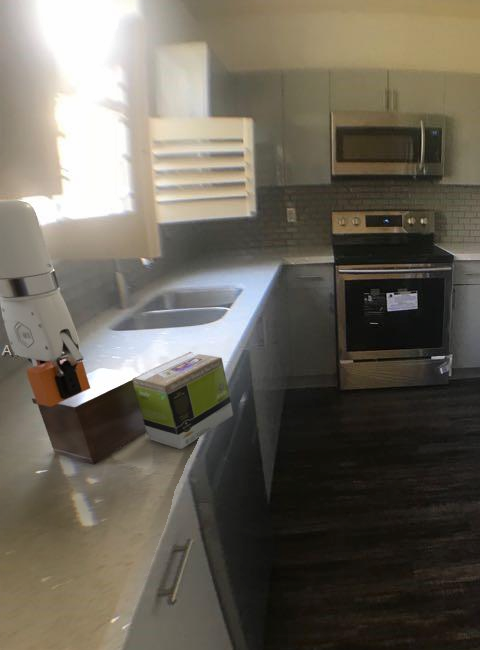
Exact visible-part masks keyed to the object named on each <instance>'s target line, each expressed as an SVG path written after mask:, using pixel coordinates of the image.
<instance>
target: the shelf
mask: <svg viewBox="0 0 480 650" xmlns="http://www.w3.org/2000/svg"><path fill="white" fill-rule="evenodd" d="M140 374H141V373H140ZM140 374H139V373H133V372H128V371H121V370H116V369H109V368H104V367H100V368H97V369H95V370H93V371H90V372H88V373H86V375H87V378H88V382H89V385H90V389H88V390H86V391H84V392H81V393H79V394H77V395H75V396H73V397H71V398H69V399H66V400H64V401H62V402H60V403H58V404H56V405H53V406H51V407H49V406H44V405H40V404H37V402H36V399H35V396H33V397H32V396H31V402H32V403H33V404H35V405H37V407H38V410H39V412H40V415H41V419H42V422H43V424H44V427H45V430H46V433H47V435H48V437H49V442H50V444H51V447H52V451H53V452H54V455H58V456H61V457H65V458H68V459H73V460H75V461H78V462H83V463H86V464H90V465H95V464H97V463H98V462H100V461H102V460H103V459H105V458H107V457H108V456H110V455H112V454H113V453H114V452H116V451H118V450H120V449H121V448H123V447H124V446H126V445H127V444H129V443H131V442H132V441H134V440H135V439H137V438H139V437H140V436H142V435H143V434H146V433H147V431H146V427H145V424H144V421H143V417H142V413H141V409H140V405H139V402H138V398H137V395H136V391H135V388H134V384H133V380H132V378H133V377H136V376H138V375H140Z"/></svg>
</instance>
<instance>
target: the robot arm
mask: <svg viewBox="0 0 480 650" xmlns="http://www.w3.org/2000/svg"><path fill="white" fill-rule="evenodd" d="M0 311H1V316H2V320H3V324H4V328H5V331H6V334H7V339H8V341H9V345H10V347H11V350H12V352H13V354H15V356H18V357H20V358H25V359H27V360H28V362H30V363H31V364H32V368H33V367H35V366H38V365H41V364H43V363H46V362H52V365H53V367H54V370H55V372H56V374H57V376H56V377H54V378H55V381H56V384H57V387H58V390H59V393H60V396H61V398H62V399H67V398H69V397H71V396H73V395H76V394H78V393H80V392H81V391H82V389H81V386H80V383H79V379H78V376H77V373H76V371H77V365H78V363H79V362H81V361H82V362H83V361H84V356H83V355H82V353H81V351H80V349H81V344H80V340H79V336H78V333H77V330H76V326H75V323H74V321H73V319H72V316H71V313H70V311H69V309H68V306H67V304H66V301H65V299H64V297H63V295H62V293H61V288H60V285H59V282H58V278H57V273H56V271H55V268H54V265H53V262H52V258H51V254H50V252H49V249H48V245H47V241H46V238H45V235H44V232H43V228H42V225H41V222H40V219H39V216H38V213H37V210H36V207H35V206H34V204H32V203H31V202H29V201H27V200H24V199H0ZM63 359H66V361H64V362H63V363H62V365H61V364H60V360H63Z"/></svg>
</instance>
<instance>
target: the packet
mask: <svg viewBox="0 0 480 650" xmlns="http://www.w3.org/2000/svg"><path fill="white" fill-rule="evenodd" d="M64 361H66V359H63V360H60V364H61V365H62V363H63V362H64ZM76 373H77V376H78V379H79V383H80V386H81V389H82V391H81V392H84V391H86V390H88V389H90V385H89V382H88V378H87V375H86V374H87V371H86V369H85V365H84V362H83V360H82V361H81V362H79V363H78V365H77V371H76ZM25 374H26V377H27V379H28V382H29V385H30V387H31V390H32V393H33V397H35V399H36V402H37V404H36V405H38V404H40V405H44V406H49V407H51V406H53V405H56V404H58V403H60V402H62V401H64V400H66V399H62V398H61V396H60V393H59V390H58V387H57V384H56V381H55V378H54V377H56V376H57V374H56V372H55V370H54V367H53V365H52V362H46V363H43V364H41V365H38V366H35V367H33V366H32V367H31V368H30V367H29V368H28V369H25ZM81 392H80V393H81ZM78 394H79V393H78ZM76 395H77V394H76ZM73 396H75V395H73ZM73 396H71V397H73ZM71 397H69V398H71ZM69 398H67V399H69Z"/></svg>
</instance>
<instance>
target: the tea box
mask: <svg viewBox="0 0 480 650" xmlns="http://www.w3.org/2000/svg"><path fill="white" fill-rule="evenodd" d="M132 380H133V384H134V388H135V391H136V395H137V398H138V402H139V405H140V409H141V413H142V417H143V421H144V424H145V427H146V431H147V432H146V433H147V434H146V435H147V437H148V439H149V440H150V441H154V442H157V443H160V444H163V445H165V446H169V447H172V448H176V449H179V450H182V449H184V448H185V447H187V446H188V445H190V444H192V443H193V442H195V441H196V440H198V439H199V438H201V437H202V436H204V435H205V434H206V433H208V432H210V431H212V430H213V429H215V428H216V427H218V426H220V425H221V424H222V423H224V422H226V421H227V420H229V419H230V418H231V417H233V416H234V412H233V407H232V402H231V397H230V392H229V386H228V381H227V377H226V372H225V366H224V362H223V358H222V357H220V356H213V355H209V354H208V355H207V354H202V353H196V352H192V351H189V352H187V353H184V354H182V355H179V356H177V357H176V358H173V359H171V360H169V361H167V362H164V363H162V364H160V365H157V366H155V367H153V368H151V369H149V370H146V371H144V372H143V373H140V375H138V376H136V377H133V378H132Z"/></svg>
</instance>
